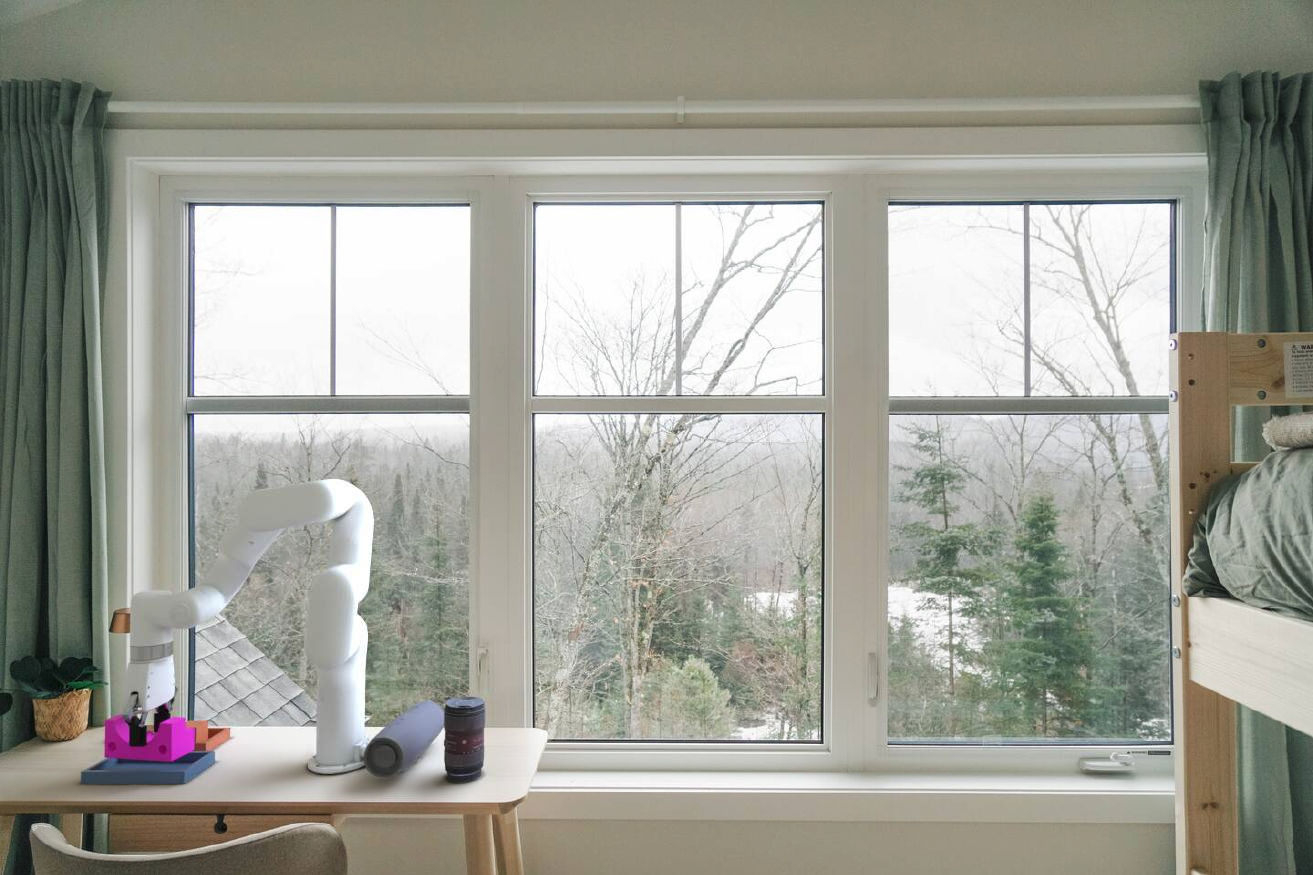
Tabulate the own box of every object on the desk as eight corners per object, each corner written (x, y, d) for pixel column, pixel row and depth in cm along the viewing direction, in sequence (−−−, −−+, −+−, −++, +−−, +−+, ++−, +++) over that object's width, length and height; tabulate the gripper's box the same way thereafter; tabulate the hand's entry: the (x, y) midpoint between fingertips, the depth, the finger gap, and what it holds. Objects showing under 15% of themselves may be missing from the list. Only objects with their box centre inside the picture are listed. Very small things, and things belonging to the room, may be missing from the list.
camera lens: (484, 782, 153) (485, 706, 154) (442, 786, 152) (442, 709, 152) (485, 766, 161) (485, 694, 162) (445, 769, 160) (445, 696, 160)
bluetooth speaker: (407, 741, 175) (408, 697, 175) (447, 742, 174) (447, 698, 174) (360, 784, 153) (360, 733, 153) (405, 786, 152) (405, 734, 152)
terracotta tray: (230, 737, 178) (230, 727, 178) (205, 754, 168) (206, 743, 168) (179, 738, 178) (179, 727, 178) (152, 754, 168) (152, 743, 168)
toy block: (194, 749, 160) (194, 713, 161) (171, 761, 154) (171, 723, 154) (129, 745, 163) (129, 709, 163) (104, 757, 156) (104, 720, 156)
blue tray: (215, 762, 164) (215, 750, 164) (184, 783, 153) (184, 771, 153) (117, 762, 164) (118, 751, 164) (80, 783, 153) (80, 771, 153)
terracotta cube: (208, 740, 175) (208, 720, 175) (196, 747, 171) (196, 727, 171) (188, 740, 175) (188, 720, 175) (175, 747, 171) (176, 727, 171)
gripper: (160, 641, 168) (159, 724, 167) (103, 663, 150) (101, 755, 150) (195, 641, 168) (193, 724, 167) (141, 663, 150) (140, 755, 150)
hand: (150, 738), depth 158 cm, fingers closed on toy block, 6 cm apart
